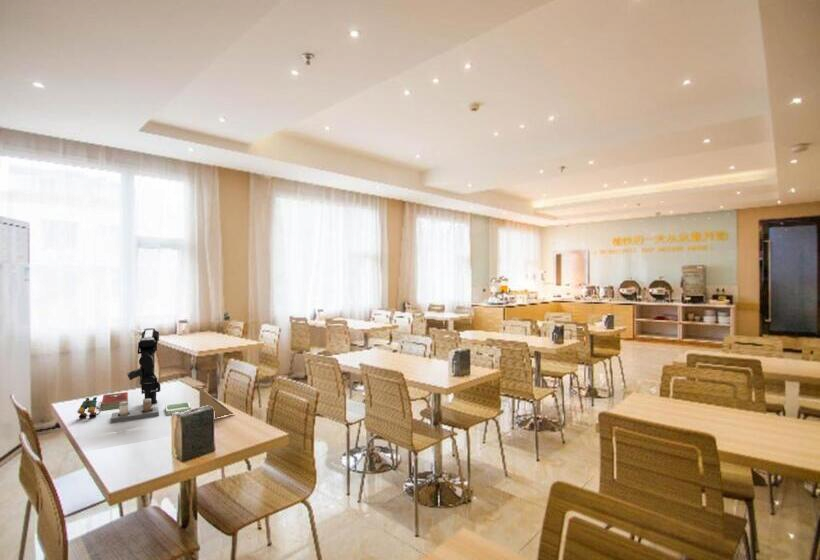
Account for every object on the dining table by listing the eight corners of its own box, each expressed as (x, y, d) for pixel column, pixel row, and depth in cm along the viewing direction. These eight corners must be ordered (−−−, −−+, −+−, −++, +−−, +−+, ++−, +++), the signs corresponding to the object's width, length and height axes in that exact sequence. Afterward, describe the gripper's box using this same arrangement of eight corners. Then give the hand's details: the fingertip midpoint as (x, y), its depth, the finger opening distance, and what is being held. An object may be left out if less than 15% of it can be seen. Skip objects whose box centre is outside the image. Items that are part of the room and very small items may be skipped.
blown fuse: (143, 414, 219) (143, 398, 219) (151, 413, 221) (151, 397, 221) (143, 416, 216) (143, 400, 216) (151, 415, 218) (151, 399, 218)
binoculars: (78, 423, 213) (73, 409, 208) (84, 408, 220) (79, 395, 215) (99, 421, 216) (95, 408, 211) (105, 407, 223) (101, 394, 218)
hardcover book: (101, 411, 227) (101, 403, 227) (102, 401, 244) (102, 394, 244) (127, 407, 234) (127, 400, 234) (127, 398, 251) (127, 391, 251)
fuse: (119, 417, 213) (119, 401, 213) (128, 416, 215) (128, 400, 215) (119, 419, 210) (119, 403, 210) (128, 418, 212) (128, 402, 212)
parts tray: (165, 409, 228) (165, 405, 228) (188, 406, 234) (188, 402, 234) (166, 416, 218) (166, 411, 218) (191, 412, 224) (191, 407, 224)
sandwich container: (236, 415, 220) (236, 386, 220) (204, 422, 210) (204, 391, 209) (230, 411, 226) (230, 383, 226) (199, 417, 216) (199, 388, 216)
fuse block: (112, 418, 214) (112, 413, 214) (158, 411, 225) (158, 406, 225) (111, 423, 206) (111, 418, 206) (158, 416, 217) (158, 411, 217)
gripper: (128, 362, 222) (128, 391, 222) (128, 368, 206) (128, 400, 206) (153, 359, 228) (153, 388, 228) (154, 365, 212) (154, 397, 212)
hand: (147, 393), depth 218 cm, fingers open, 9 cm apart
